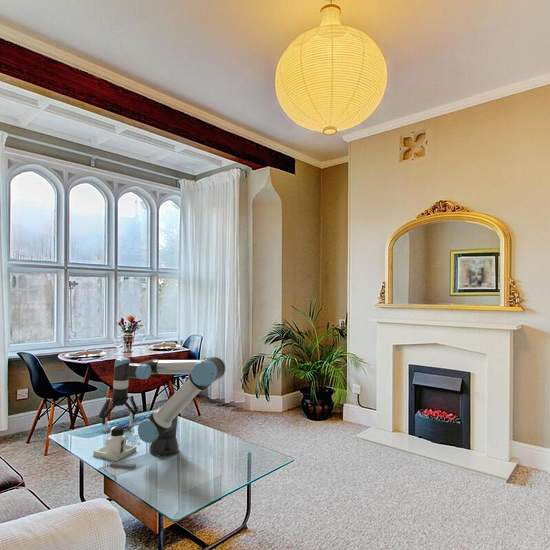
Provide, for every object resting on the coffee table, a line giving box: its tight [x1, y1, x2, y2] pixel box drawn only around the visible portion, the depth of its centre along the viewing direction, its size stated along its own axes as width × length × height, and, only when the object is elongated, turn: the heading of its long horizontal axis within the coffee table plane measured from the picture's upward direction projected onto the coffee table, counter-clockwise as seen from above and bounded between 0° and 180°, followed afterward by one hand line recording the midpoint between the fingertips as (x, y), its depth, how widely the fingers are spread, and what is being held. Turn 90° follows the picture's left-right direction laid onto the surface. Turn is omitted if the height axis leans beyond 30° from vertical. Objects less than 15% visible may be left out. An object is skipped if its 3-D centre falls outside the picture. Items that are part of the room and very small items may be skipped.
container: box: [105, 425, 127, 455], centre depth 216 cm, size 8×8×13 cm
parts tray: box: [92, 443, 137, 462], centre depth 216 cm, size 15×15×2 cm
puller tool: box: [109, 461, 137, 470], centre depth 201 cm, size 12×2×2 cm, turn 86°
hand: (118, 428), depth 216 cm, fingers open, 13 cm apart
